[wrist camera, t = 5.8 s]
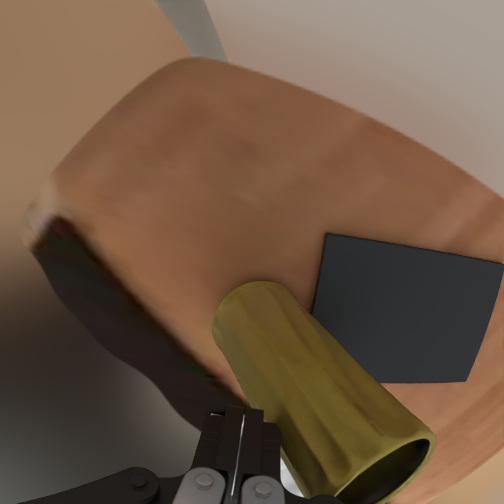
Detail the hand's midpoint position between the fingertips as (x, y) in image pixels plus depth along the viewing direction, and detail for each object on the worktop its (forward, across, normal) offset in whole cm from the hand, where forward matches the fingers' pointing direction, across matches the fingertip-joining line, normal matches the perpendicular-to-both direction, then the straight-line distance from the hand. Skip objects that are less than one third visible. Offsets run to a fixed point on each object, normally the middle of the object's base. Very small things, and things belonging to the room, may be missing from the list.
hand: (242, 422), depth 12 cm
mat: (+11, -12, -1) cm, 16 cm away
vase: (+10, 0, 0) cm, 10 cm away
